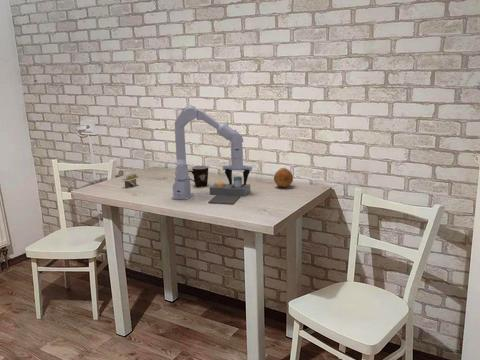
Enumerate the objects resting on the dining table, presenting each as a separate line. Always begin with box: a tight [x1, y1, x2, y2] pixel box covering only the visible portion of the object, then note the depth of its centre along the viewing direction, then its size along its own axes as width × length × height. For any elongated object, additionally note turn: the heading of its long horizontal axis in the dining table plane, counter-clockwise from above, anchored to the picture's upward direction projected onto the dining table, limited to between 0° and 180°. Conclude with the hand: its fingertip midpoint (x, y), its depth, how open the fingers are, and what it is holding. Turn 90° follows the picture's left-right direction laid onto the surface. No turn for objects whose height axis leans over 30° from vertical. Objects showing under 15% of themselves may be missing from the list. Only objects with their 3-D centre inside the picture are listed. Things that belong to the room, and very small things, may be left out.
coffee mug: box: [188, 165, 209, 188], centre depth 242 cm, size 12×9×10 cm
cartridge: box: [233, 176, 243, 188], centre depth 225 cm, size 4×4×8 cm
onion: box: [273, 167, 294, 189], centre depth 233 cm, size 10×10×10 cm
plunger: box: [216, 182, 225, 187], centre depth 228 cm, size 4×4×4 cm
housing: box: [209, 182, 251, 197], centre depth 227 cm, size 10×18×4 cm, turn 75°
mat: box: [207, 195, 241, 206], centre depth 215 cm, size 12×12×1 cm
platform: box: [121, 173, 140, 189], centre depth 245 cm, size 12×18×7 cm, turn 145°
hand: (237, 184), depth 225 cm, fingers open, 7 cm apart
